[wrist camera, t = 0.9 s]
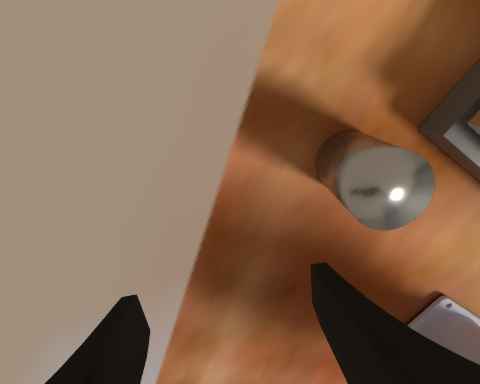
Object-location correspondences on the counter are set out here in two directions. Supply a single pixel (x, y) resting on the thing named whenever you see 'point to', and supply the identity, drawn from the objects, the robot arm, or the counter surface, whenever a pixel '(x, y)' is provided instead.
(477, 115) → the scale pan
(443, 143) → the scale
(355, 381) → the robot arm
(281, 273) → the counter surface
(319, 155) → the steel weight
